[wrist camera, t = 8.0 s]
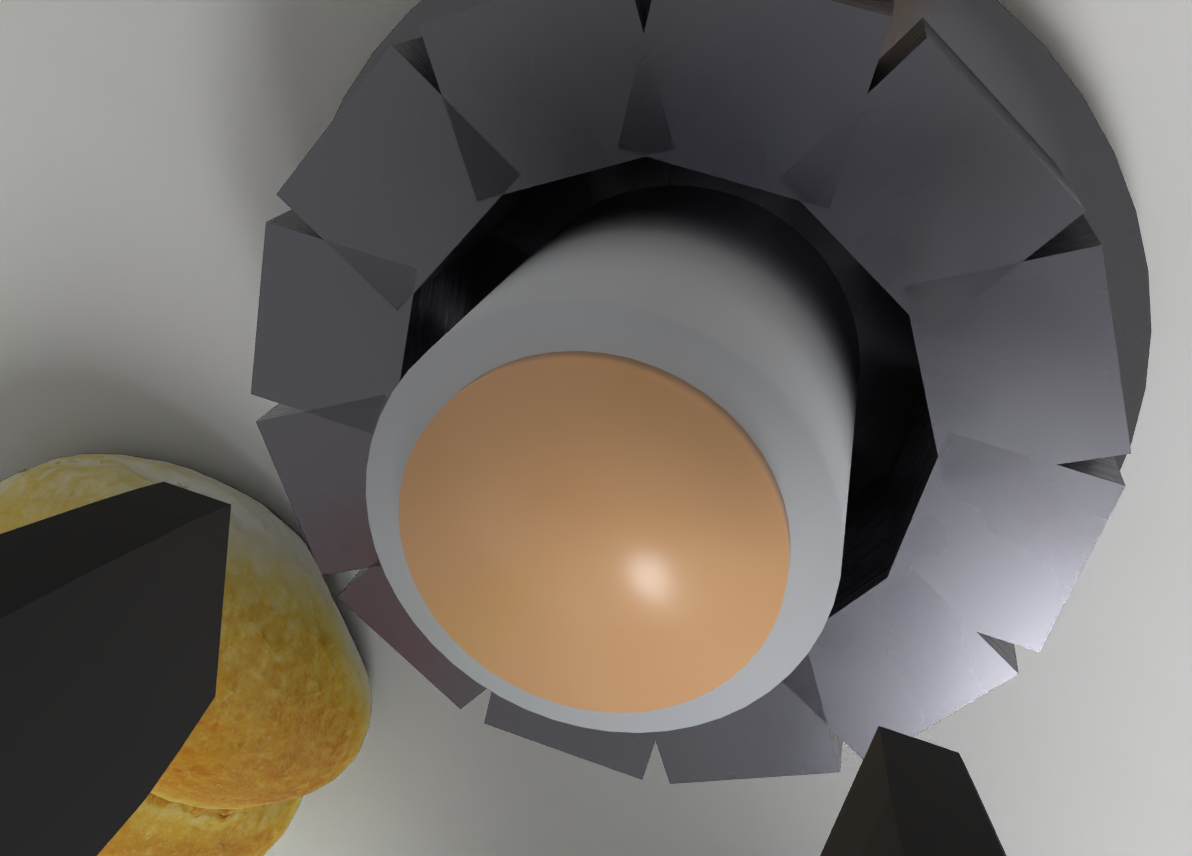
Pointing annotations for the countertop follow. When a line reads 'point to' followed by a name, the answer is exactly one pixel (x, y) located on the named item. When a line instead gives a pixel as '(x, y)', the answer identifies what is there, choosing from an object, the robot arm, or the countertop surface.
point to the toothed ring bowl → (834, 228)
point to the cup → (629, 466)
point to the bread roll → (233, 671)
